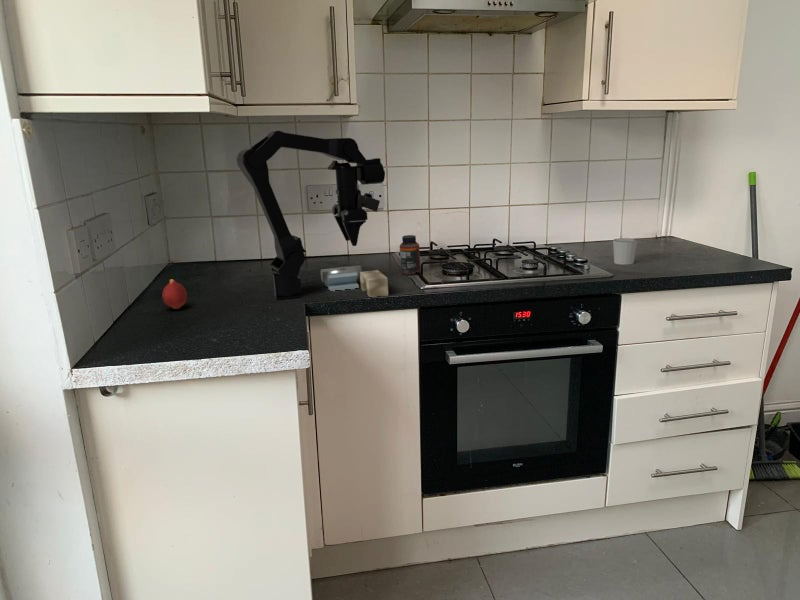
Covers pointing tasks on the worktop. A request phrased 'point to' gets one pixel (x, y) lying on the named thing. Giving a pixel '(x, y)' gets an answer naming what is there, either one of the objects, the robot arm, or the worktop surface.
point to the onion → (174, 295)
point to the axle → (339, 271)
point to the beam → (374, 283)
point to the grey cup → (624, 250)
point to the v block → (342, 281)
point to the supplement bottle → (409, 255)
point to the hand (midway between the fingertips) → (351, 243)
